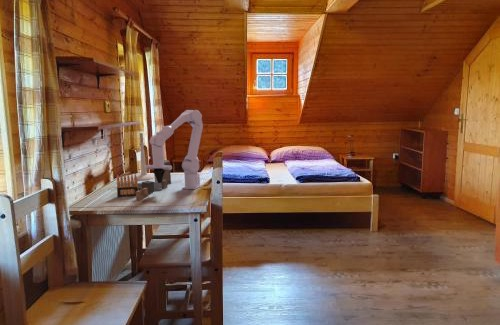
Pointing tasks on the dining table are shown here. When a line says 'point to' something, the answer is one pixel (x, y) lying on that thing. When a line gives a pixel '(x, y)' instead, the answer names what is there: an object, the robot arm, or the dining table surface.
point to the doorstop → (148, 186)
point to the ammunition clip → (127, 186)
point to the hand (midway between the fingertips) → (159, 182)
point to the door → (156, 185)
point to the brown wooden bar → (144, 192)
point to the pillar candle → (166, 173)
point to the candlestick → (143, 163)
